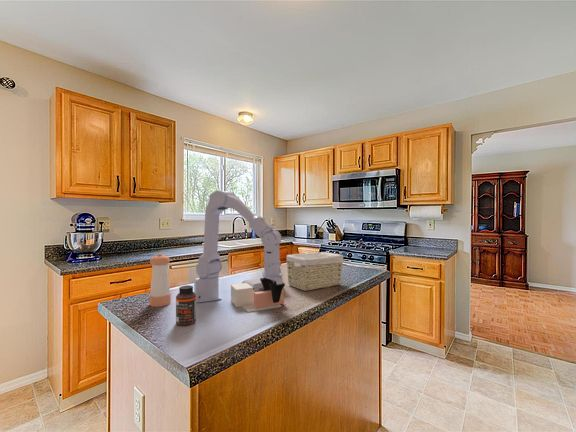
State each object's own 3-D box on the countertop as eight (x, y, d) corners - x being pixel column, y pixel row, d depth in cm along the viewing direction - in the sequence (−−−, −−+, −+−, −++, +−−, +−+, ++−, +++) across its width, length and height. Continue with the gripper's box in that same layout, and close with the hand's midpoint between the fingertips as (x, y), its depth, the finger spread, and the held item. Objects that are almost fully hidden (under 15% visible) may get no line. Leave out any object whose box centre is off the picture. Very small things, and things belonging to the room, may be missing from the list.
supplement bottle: (176, 327, 82) (175, 290, 82) (175, 320, 88) (175, 285, 88) (197, 324, 85) (196, 288, 85) (195, 317, 90) (195, 283, 90)
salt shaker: (164, 299, 110) (163, 251, 110) (174, 302, 106) (174, 253, 106) (145, 304, 104) (145, 254, 104) (156, 308, 100) (155, 255, 100)
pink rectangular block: (256, 308, 98) (256, 294, 98) (253, 305, 101) (253, 292, 100) (284, 303, 103) (283, 290, 103) (281, 301, 105) (281, 288, 105)
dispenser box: (236, 307, 100) (236, 289, 100) (230, 300, 108) (230, 284, 108) (254, 304, 104) (254, 287, 103) (248, 298, 111) (248, 282, 111)
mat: (247, 312, 95) (247, 311, 95) (242, 307, 100) (242, 306, 100) (281, 306, 101) (281, 305, 101) (275, 302, 106) (275, 301, 106)
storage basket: (323, 278, 144) (322, 250, 144) (345, 285, 131) (345, 254, 131) (284, 285, 131) (284, 254, 131) (305, 293, 118) (304, 259, 118)
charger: (252, 284, 133) (270, 291, 121) (235, 288, 127) (252, 295, 115) (252, 275, 133) (270, 280, 121) (235, 278, 127) (252, 284, 115)
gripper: (290, 265, 97) (290, 303, 98) (274, 259, 110) (274, 293, 111) (271, 267, 94) (271, 306, 94) (257, 260, 107) (257, 295, 107)
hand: (272, 299), depth 102 cm, fingers open, 7 cm apart
